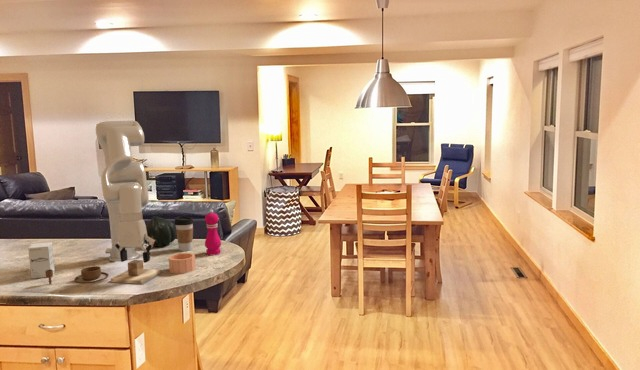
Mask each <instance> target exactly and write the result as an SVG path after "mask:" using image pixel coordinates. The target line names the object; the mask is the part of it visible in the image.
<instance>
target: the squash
mask: <svg viewBox="0 0 640 370" xmlns="http://www.w3.org/2000/svg"><path fill="white" fill-rule="evenodd" d="M146 230H147V236H149V237H150V238H152V239H154V240H155V242H154V245H153V247H163V246H165V247H166V246H168V245H169V246H170V244H171V243H174V241H175V239H176V238H177V233H176V225H175V223H173V222H172V221H170V220H168V219H166V218H163V217H161V216H152V217H151V219H150V221H149V222H148V223H147V225H146ZM147 245H149V242H148V244H147Z"/></svg>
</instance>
